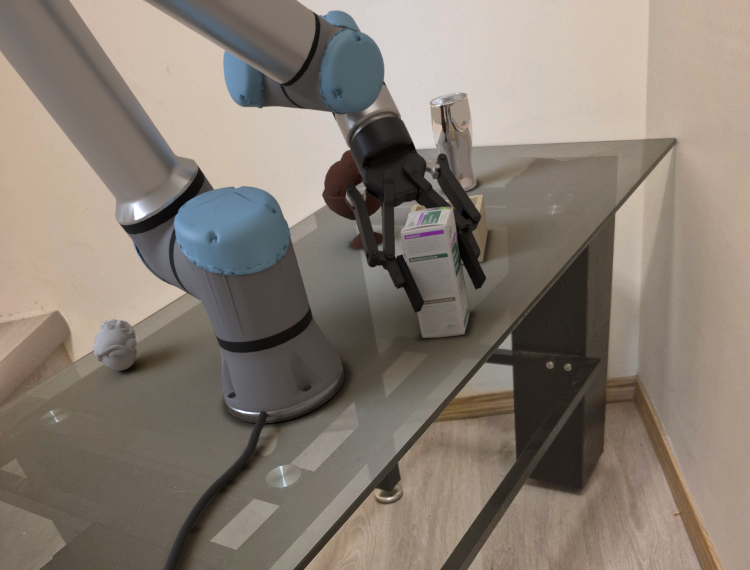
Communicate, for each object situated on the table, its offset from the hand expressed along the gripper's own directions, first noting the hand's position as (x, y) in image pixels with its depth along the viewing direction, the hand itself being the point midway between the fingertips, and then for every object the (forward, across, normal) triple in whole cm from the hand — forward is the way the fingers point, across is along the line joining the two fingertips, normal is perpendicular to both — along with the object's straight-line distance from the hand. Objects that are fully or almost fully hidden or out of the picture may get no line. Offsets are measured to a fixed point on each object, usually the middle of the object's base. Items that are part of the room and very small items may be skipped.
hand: (450, 295), depth 90 cm
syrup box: (+2, 0, -6) cm, 7 cm away
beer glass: (-31, -26, -39) cm, 56 cm away
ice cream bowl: (-25, -3, -33) cm, 41 cm away
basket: (-14, -11, -22) cm, 28 cm away
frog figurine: (-15, +41, -23) cm, 49 cm away
